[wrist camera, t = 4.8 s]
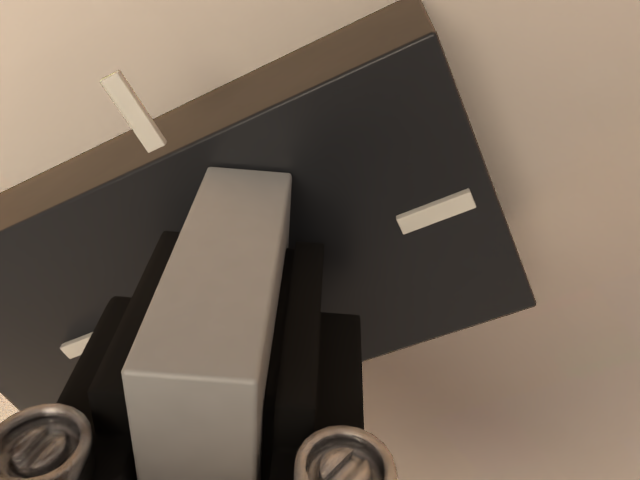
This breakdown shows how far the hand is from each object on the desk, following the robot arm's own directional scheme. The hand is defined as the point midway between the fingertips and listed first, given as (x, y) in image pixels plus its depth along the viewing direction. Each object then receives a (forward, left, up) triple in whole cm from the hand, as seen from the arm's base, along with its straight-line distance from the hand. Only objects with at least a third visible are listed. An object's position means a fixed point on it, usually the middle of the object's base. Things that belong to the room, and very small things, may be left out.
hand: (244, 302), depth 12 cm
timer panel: (+1, -1, -4) cm, 4 cm away
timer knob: (0, 0, -1) cm, 1 cm away
